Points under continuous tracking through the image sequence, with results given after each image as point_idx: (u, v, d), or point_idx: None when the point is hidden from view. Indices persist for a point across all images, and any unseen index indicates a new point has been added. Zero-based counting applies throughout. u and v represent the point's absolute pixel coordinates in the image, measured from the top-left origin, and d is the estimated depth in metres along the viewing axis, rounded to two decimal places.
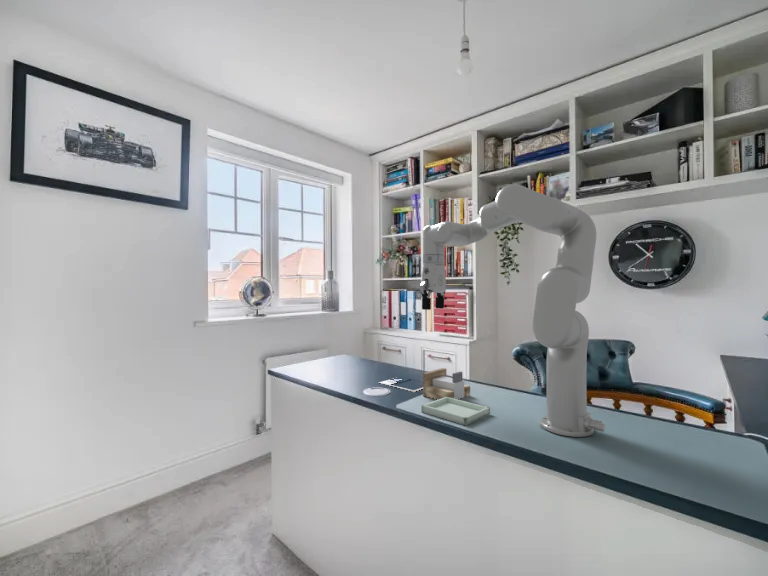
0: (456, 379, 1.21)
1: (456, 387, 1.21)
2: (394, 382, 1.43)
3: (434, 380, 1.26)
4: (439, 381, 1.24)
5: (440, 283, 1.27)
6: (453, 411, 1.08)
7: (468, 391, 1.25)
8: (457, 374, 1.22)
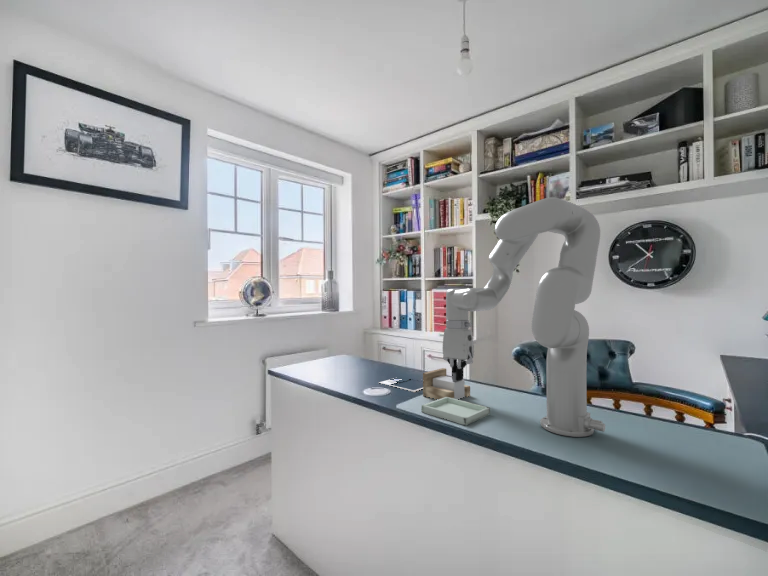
0: None
1: (456, 386, 1.21)
2: (394, 382, 1.43)
3: (434, 379, 1.26)
4: (439, 380, 1.25)
5: None
6: (453, 411, 1.08)
7: (468, 391, 1.25)
8: None
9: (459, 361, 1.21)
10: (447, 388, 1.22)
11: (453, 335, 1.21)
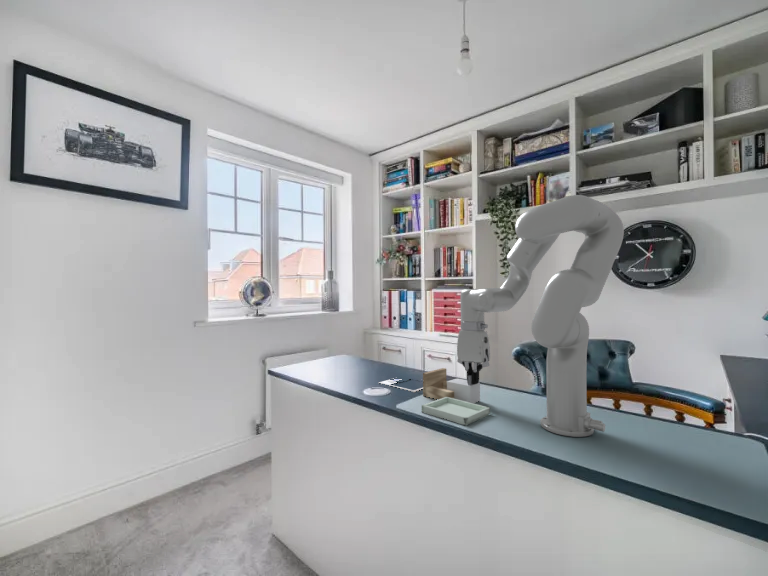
0: None
1: (471, 390, 1.17)
2: (394, 382, 1.43)
3: (448, 383, 1.22)
4: (454, 384, 1.20)
5: None
6: (453, 411, 1.08)
7: None
8: None
9: (475, 364, 1.16)
10: (462, 391, 1.18)
11: (468, 337, 1.17)
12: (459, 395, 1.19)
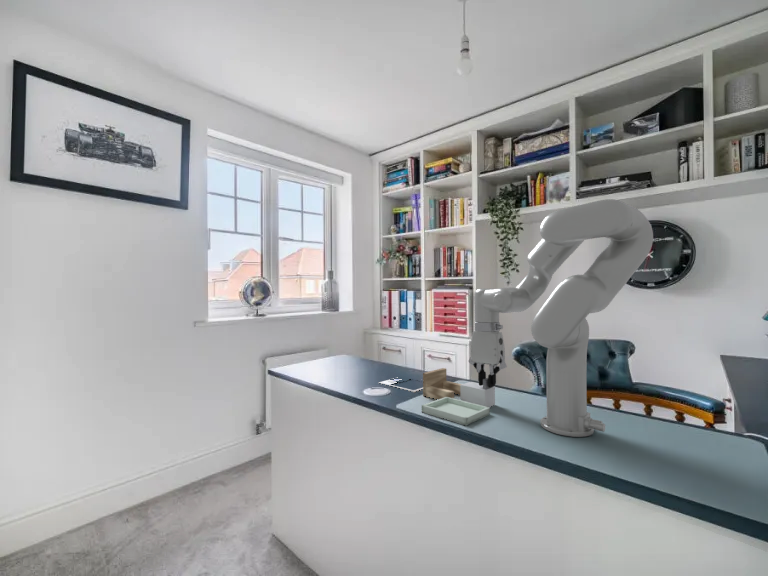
0: (487, 385, 1.13)
1: (486, 394, 1.13)
2: (394, 382, 1.43)
3: (462, 386, 1.18)
4: (468, 387, 1.16)
5: None
6: (453, 411, 1.08)
7: None
8: None
9: (491, 366, 1.12)
10: (477, 396, 1.14)
11: (483, 339, 1.13)
12: (473, 399, 1.15)
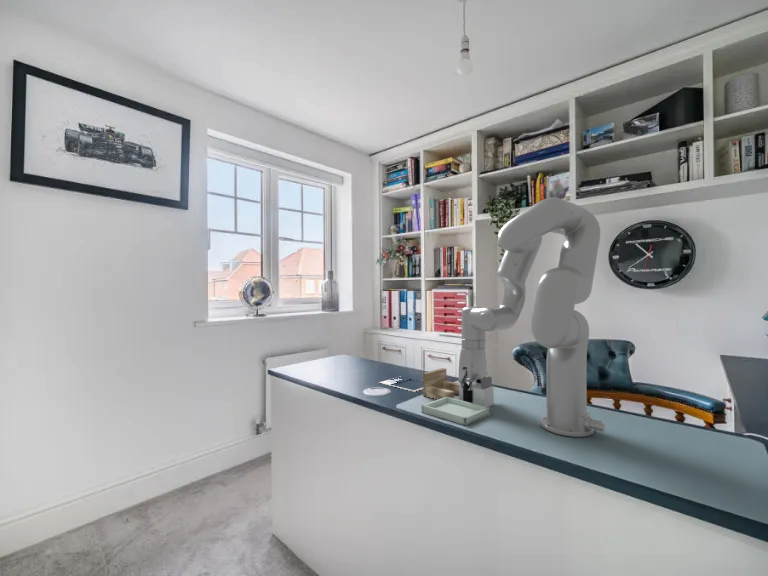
0: (485, 385, 1.14)
1: (485, 393, 1.13)
2: (394, 382, 1.43)
3: (461, 386, 1.18)
4: None
5: None
6: (453, 411, 1.08)
7: None
8: (486, 379, 1.14)
9: None
10: (475, 395, 1.14)
11: (480, 355, 1.17)
12: None
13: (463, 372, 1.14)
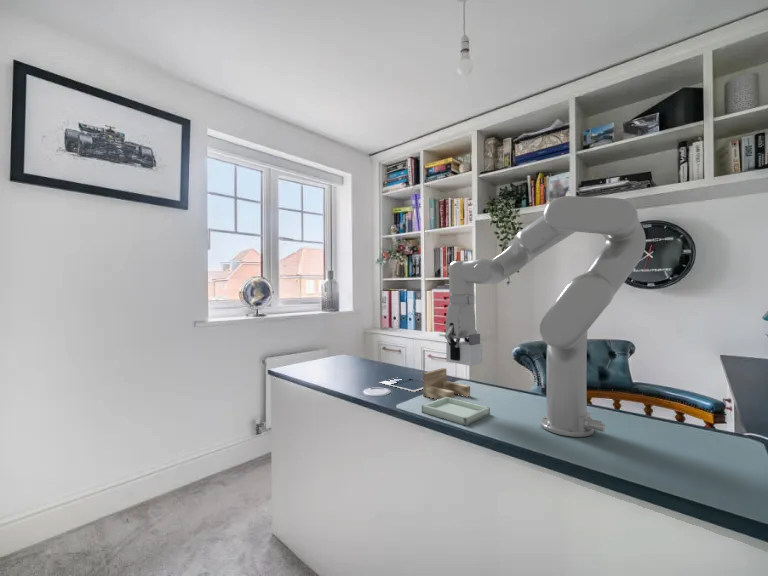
0: (473, 341, 1.08)
1: (473, 350, 1.08)
2: (394, 382, 1.43)
3: (448, 344, 1.13)
4: None
5: None
6: (453, 411, 1.08)
7: (468, 391, 1.25)
8: (474, 336, 1.09)
9: None
10: (463, 352, 1.09)
11: (468, 312, 1.11)
12: None
13: (450, 328, 1.09)
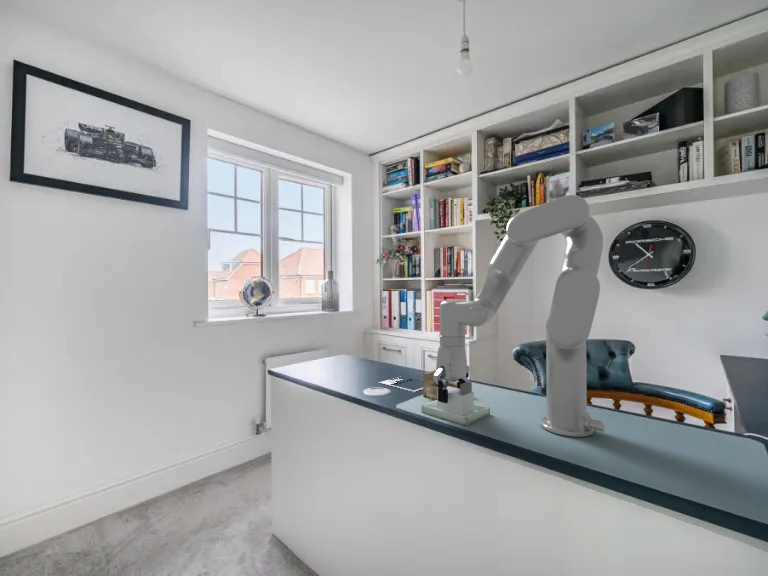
0: (464, 391, 1.05)
1: (464, 400, 1.04)
2: (394, 382, 1.43)
3: None
4: None
5: None
6: None
7: None
8: (466, 385, 1.05)
9: (464, 376, 1.11)
10: (454, 402, 1.05)
11: (459, 353, 1.08)
12: (450, 405, 1.06)
13: (440, 369, 1.05)
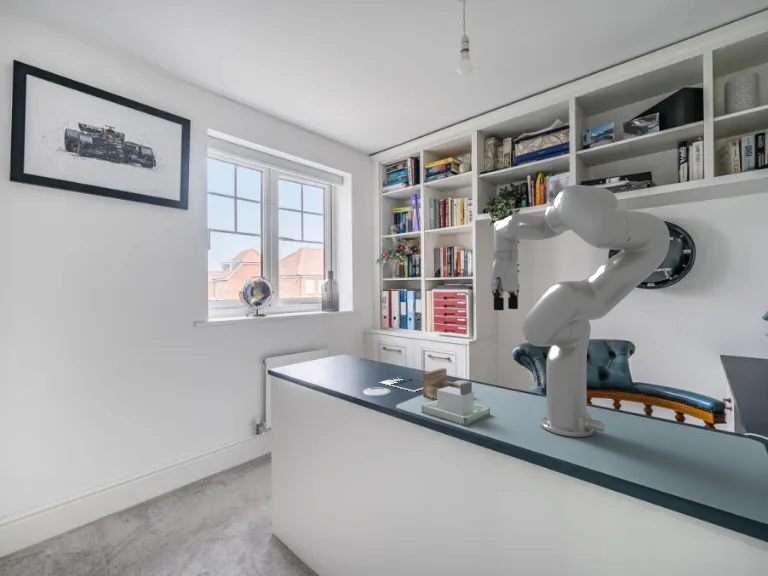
0: (464, 391, 1.05)
1: (464, 400, 1.04)
2: (394, 382, 1.43)
3: (439, 391, 1.09)
4: (445, 393, 1.08)
5: None
6: None
7: None
8: (466, 385, 1.05)
9: (516, 291, 1.21)
10: (454, 402, 1.05)
11: (513, 267, 1.18)
12: (450, 405, 1.06)
13: (496, 279, 1.15)
